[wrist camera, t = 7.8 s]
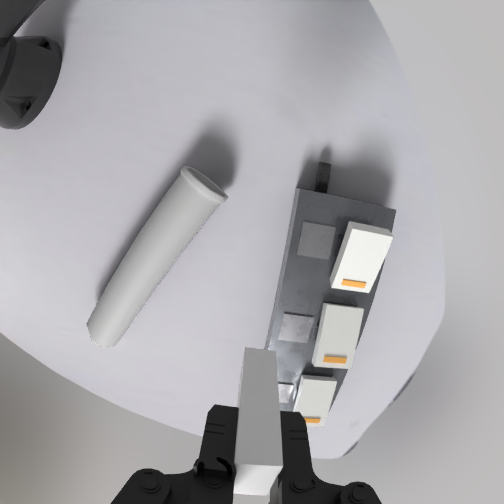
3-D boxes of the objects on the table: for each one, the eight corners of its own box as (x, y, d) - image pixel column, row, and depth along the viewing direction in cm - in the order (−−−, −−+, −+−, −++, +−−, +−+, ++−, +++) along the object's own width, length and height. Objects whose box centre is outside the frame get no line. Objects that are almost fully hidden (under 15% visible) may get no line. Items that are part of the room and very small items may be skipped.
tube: (74, 328, 30) (175, 160, 24) (101, 319, 35) (201, 171, 30) (97, 360, 29) (213, 194, 23) (123, 348, 34) (235, 201, 29)
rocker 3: (323, 302, 28) (327, 304, 26) (359, 307, 28) (364, 309, 26) (311, 362, 27) (314, 366, 26) (346, 364, 27) (351, 369, 26)
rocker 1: (301, 374, 30) (304, 379, 29) (334, 377, 30) (337, 381, 29) (290, 419, 30) (292, 425, 28) (321, 421, 30) (324, 427, 28)
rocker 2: (349, 221, 24) (352, 229, 22) (388, 229, 24) (393, 237, 22) (329, 278, 27) (331, 288, 26) (365, 284, 27) (369, 294, 26)
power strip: (300, 159, 28) (306, 156, 24) (387, 179, 28) (404, 180, 24) (254, 395, 36) (252, 416, 32) (322, 401, 36) (326, 421, 32)
